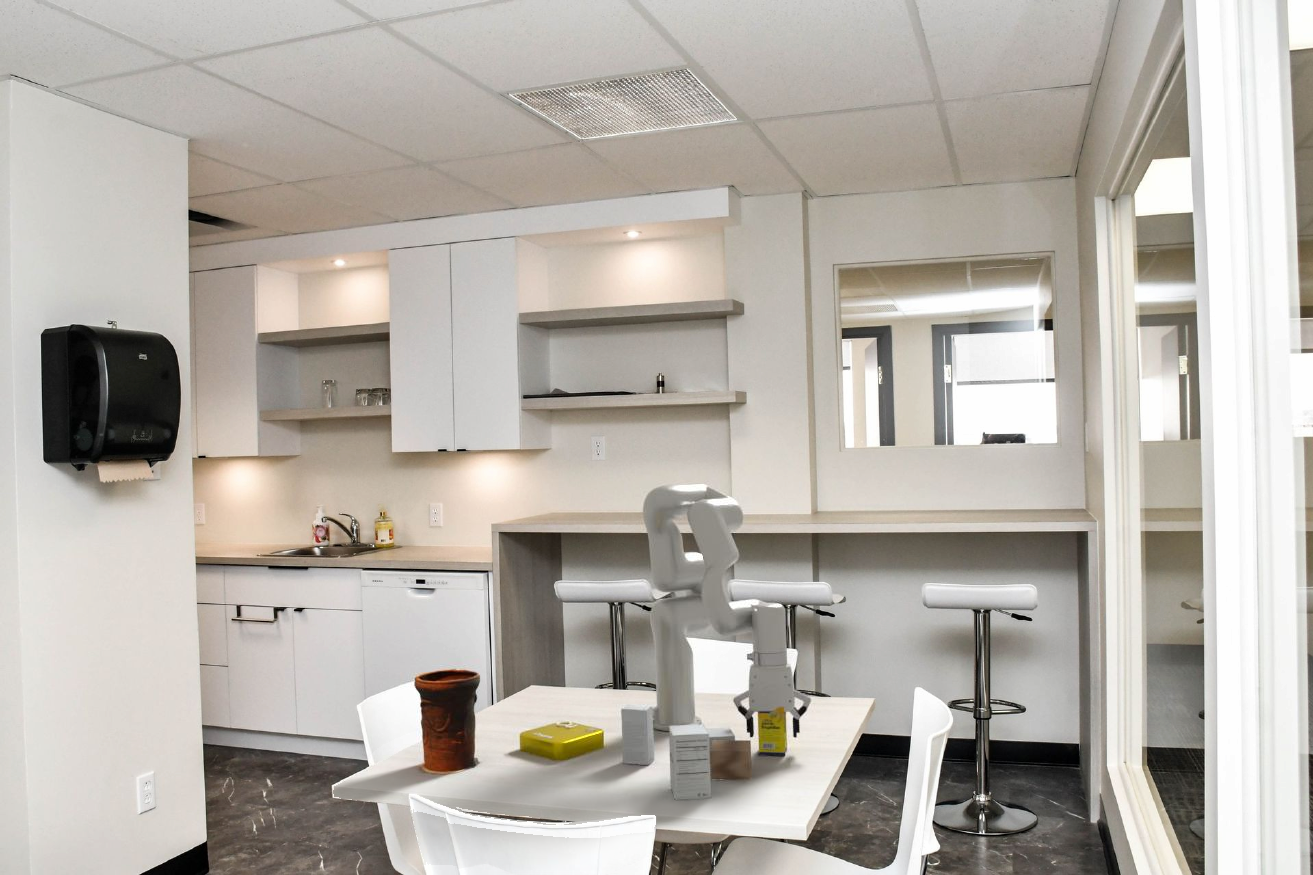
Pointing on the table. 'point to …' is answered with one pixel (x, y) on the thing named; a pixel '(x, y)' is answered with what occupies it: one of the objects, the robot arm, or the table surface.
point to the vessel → (448, 719)
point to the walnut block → (730, 759)
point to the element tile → (561, 740)
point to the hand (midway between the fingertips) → (773, 735)
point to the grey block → (720, 734)
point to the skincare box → (637, 734)
